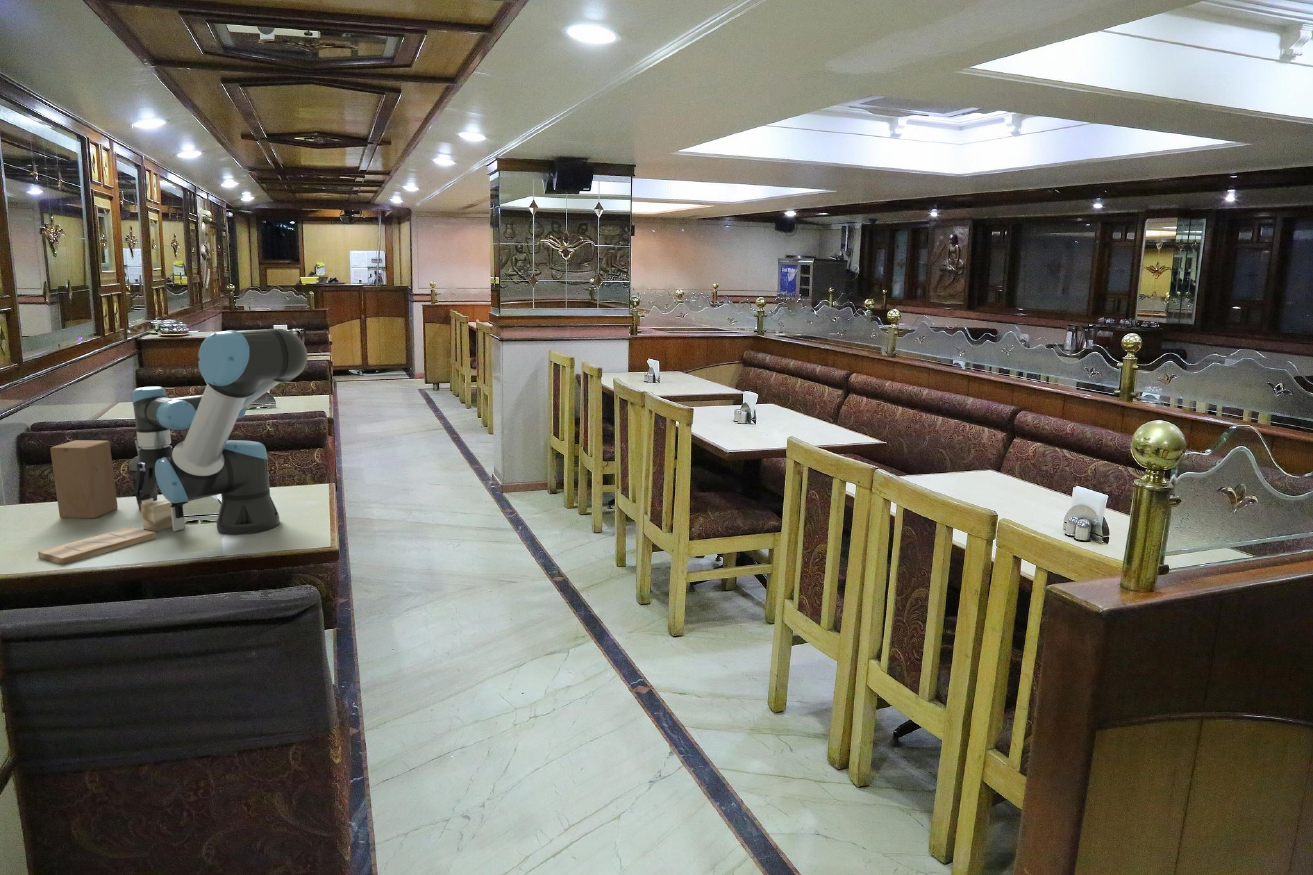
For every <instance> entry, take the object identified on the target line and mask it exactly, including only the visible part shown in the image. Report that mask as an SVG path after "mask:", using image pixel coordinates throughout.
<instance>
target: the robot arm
mask: <svg viewBox="0 0 1313 875" xmlns="http://www.w3.org/2000/svg"><path fill="white" fill-rule="evenodd" d="M197 357H198V359H199V361H198V362H197V363H198V364H197V365H198V369H199V372H200V374H201V376H202V378H203V379H204V382H205V383H206V386H205V388H204V390H203V393H202V394H198V395H189V396H181V397H168V395H167V390H166V389H165V388H164V387H162V386H144V387H138V388H135V389H133V390H132V406H133V407H132V408H133V412H134V422H135V428H136V439H137V444H138V448H139V457H140V461H141V462H142V463H138V464H137V479H136V486H135V491H134V496H135V498H136V497H139V499H140V500H141V503H142V504H144V503H148V502H153V498H151V497H153V496H152V492H153V489H154V486H155V484H156V481H157V487H158V488H159V490H160V493H161V494H162V496H163V497H164V499H165V498H166V499H167V500H168V501H170V502H171V503H172V505H171V506H170V508H171V517H172V526H173V528H172V531H173V532H176V531H180V530H183V529H185V516H184V508H183V506H184V505H186V504H189V502H191V501H196V500H200V499H205V498H210V497H212V496H216V495H217V496H218V495H220V497H221V502H220V506H219V510H218V517H217V519H216V530H217V532H219V533H222V534H227V535H246V534H255V533H259V532H265V531H267V530H270V529H273V528H275V527H277V526H278V525H279V524H280V522H281V521H280V514H279V512H278V509H277V507H276V505H275V503H274V501H273V498H272V497H271V491H270V489H271V488H270V479H269V478H270V477H269V476H270V475H269V466H268V463H269V462H268V460H269V458H268V454H267V449H266V446H265V445H264V444H263V443H262V442H259V441H252V440H240V439H239V440H238V439H237V440H236V439H235V440H229V437H230V435H231V433H232V431H233V428H234V427H235V423H236V421H237V420H238V419H240V418H243V417H244V416H246V412H247V410H248V406H249V405H250V404H252V403H253V402H254V401H256V400H257V399H259V398H260V397H261V396H263V395H265V394H267V392H269V391H270V390H272V389H273V388H275V387H276V386H277V385H279V384H280V383H288V382H291V381H292V380H293V379H295V378H297V377H298V376H299V375H300V374H302V373H303V371H304V370H305V368H306V366H307V363H308V351H307V348H306V346H305V343H304V342H303V341H302V339H301V338H300V337H299V336H297V335H296V334H295V333H293V332H291V331H289V330H285V329H280V328H269V329H267V328H266V329H247V330H224V331H219V332H214V333H211V334H209V335H208V336H207V337H205V339H204V340H203V341H202V342H201V345H200V348H199V350H198V354H197ZM186 429H188V431H187V434H186V436H185V438H184V440H183V441H181V442H178V443H177V444H176V445H175V446H174V448H173V446H172V445H170V444H171V443H172V439H171V438H172V437H171V431H170V430H172V431H181V430H186ZM140 490H141V491H140ZM149 498H150V499H149ZM183 516H184V518H183Z"/></svg>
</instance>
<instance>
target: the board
mask: <svg viewBox="0 0 1313 875" xmlns="http://www.w3.org/2000/svg"><path fill="white" fill-rule="evenodd" d="M153 539H156V532H151V531H147V530H144V529H140V528H136V527H132V526H129V527H125V528H122V529H117V530H114V531H110V532H105V533H102V534H99V535H96V536H90V537H87V538H84V539H80V540H76V541H73V542H68V543H65V544H62V545H58V546H55V547H50V548H46V549H41V550H39V551H37V556H38V558H39V559H41V560H47V561H48V562H49V561H50V562H53V563H57V564H60V565H66V564H70V563H73V562H77V561H81V560H84V559H87V558H91V557H94V556H97V555H101V554H104V553H108V552H112V551H115V550H118V549H122V548H126V547H129V546H132V545H136V544H140V543H143V542H147V541H149V540H153Z"/></svg>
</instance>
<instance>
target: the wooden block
mask: <svg viewBox="0 0 1313 875" xmlns="http://www.w3.org/2000/svg"><path fill="white" fill-rule="evenodd" d="M49 450H50V455H51V463H52V469H53V477H54V486H55V491H56V492H55V493H56V499H57V507H58V513H59V518H60V519H97V518H99V517H101V516H103V515H106V514H108V513H110V512H112V511H113V512H114V511H116V510H118V506H119V505H118V501H117V500H118V499H117V491H116V485H115V484H116V482H115V476H114V468H113V458H112V453H111V452H112V451H111V443H110V441H109V440H93V439H92V440H91V439H90V440H86V439H84V440H83V439H82V440H81V439H80V440H79V439H76V440H72V441H68V442H65V443H61V444H58V445H55V446H54V445H53V446H52V447H50V449H49Z"/></svg>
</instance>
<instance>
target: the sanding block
mask: <svg viewBox="0 0 1313 875" xmlns="http://www.w3.org/2000/svg"><path fill="white" fill-rule="evenodd" d="M171 505H172V503H171V502H170V501H168V500H167V499H166V498H165V497H164V498H161V499H157V501H153V502H148V503H144V504H141V510H140V512H141V518H142V527H143V530H146V531H150V532H155V533H159V532H162V531H166V530H170V529H173V526H172V517H171V508H170V506H171ZM183 518H184V519H185V516H183Z"/></svg>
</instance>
